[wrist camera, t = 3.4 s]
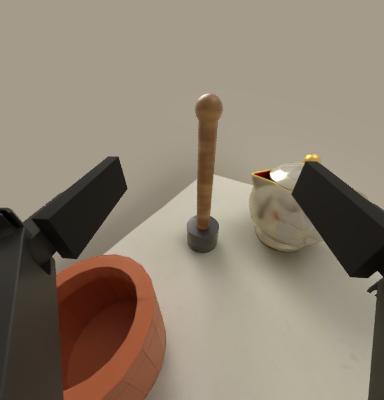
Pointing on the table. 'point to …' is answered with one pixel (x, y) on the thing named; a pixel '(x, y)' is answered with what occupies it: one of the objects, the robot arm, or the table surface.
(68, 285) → the jar
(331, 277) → the table surface
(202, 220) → the brush
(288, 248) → the teapot
